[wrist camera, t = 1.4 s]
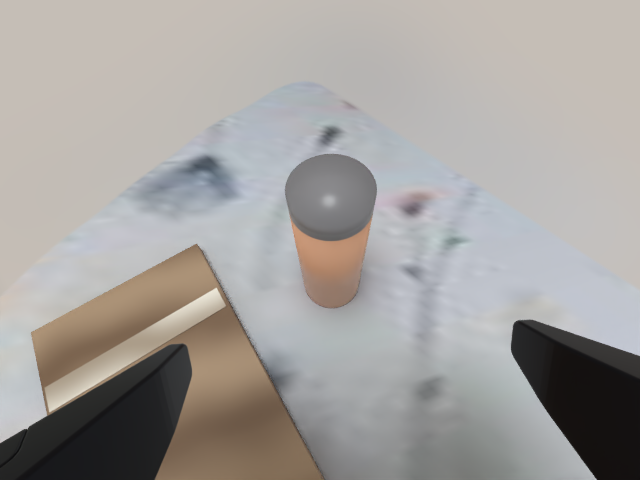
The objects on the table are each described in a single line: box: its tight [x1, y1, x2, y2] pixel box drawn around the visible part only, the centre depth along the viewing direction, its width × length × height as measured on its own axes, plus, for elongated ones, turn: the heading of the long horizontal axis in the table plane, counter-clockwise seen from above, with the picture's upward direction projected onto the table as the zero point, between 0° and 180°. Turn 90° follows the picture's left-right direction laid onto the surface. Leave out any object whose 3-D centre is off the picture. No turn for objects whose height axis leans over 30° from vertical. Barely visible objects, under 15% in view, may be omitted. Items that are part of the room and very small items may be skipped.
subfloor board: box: [31, 244, 324, 480], centre depth 18 cm, size 24×12×1 cm, turn 33°
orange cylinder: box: [285, 154, 377, 308], centre depth 19 cm, size 4×4×11 cm
